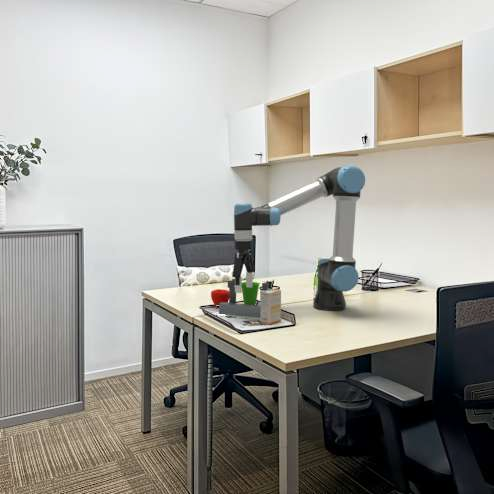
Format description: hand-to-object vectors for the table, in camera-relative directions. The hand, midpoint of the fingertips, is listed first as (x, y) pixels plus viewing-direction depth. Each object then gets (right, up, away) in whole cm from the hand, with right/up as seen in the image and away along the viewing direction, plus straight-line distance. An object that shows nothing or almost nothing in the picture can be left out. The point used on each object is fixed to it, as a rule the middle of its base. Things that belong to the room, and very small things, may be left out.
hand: (244, 290), depth 214 cm
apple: (-11, -10, +21) cm, 26 cm away
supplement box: (+11, -13, -9) cm, 19 cm away
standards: (+2, -11, +9) cm, 14 cm away
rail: (-1, -11, +1) cm, 11 cm away
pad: (-1, -11, +1) cm, 11 cm away
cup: (+3, -10, +21) cm, 24 cm away
